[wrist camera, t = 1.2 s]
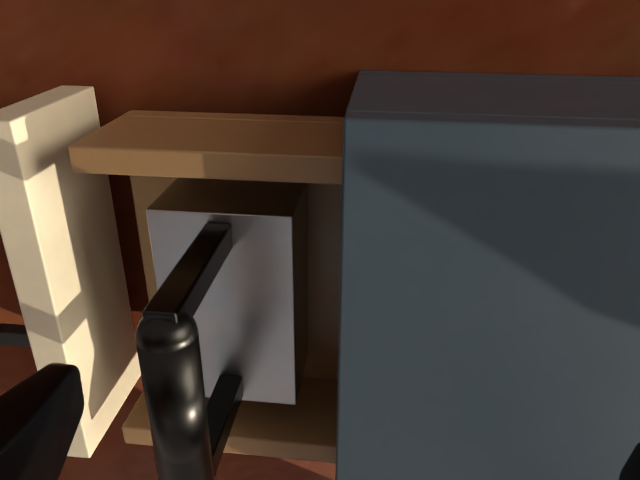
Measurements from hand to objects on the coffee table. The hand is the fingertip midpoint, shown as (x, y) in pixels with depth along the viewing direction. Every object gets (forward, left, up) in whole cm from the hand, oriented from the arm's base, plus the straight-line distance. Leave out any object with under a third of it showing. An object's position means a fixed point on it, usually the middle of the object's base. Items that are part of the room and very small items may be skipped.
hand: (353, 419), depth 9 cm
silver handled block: (-3, +4, -11) cm, 12 cm away
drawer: (-3, +6, -12) cm, 14 cm away
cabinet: (-3, -7, -13) cm, 15 cm away
